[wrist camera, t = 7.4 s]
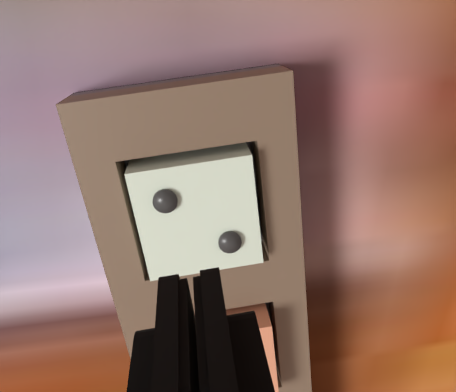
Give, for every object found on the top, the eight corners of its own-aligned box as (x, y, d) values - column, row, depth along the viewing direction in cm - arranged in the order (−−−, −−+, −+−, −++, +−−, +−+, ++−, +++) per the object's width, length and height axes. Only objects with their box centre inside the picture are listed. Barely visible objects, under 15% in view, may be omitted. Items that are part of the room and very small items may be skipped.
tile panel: (73, 92, 20) (55, 104, 17) (278, 63, 20) (293, 70, 17) (180, 483, 32) (180, 527, 29) (306, 459, 32) (318, 500, 29)
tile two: (130, 157, 20) (123, 175, 17) (244, 140, 20) (252, 156, 18) (153, 255, 22) (150, 283, 20) (255, 238, 22) (264, 264, 20)
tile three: (164, 313, 23) (162, 347, 20) (263, 297, 23) (272, 328, 21) (181, 386, 25) (181, 424, 23) (271, 370, 25) (280, 406, 23)
